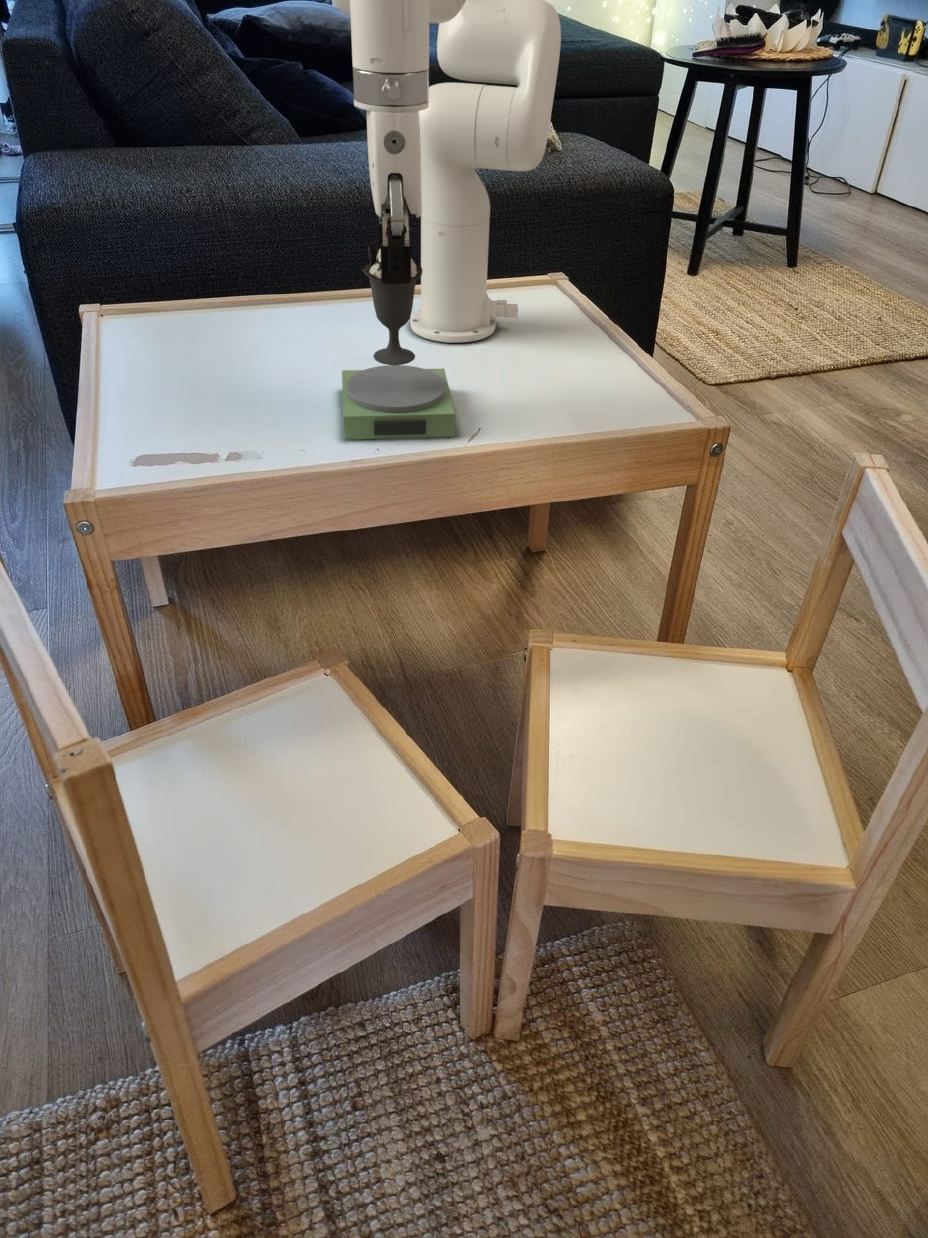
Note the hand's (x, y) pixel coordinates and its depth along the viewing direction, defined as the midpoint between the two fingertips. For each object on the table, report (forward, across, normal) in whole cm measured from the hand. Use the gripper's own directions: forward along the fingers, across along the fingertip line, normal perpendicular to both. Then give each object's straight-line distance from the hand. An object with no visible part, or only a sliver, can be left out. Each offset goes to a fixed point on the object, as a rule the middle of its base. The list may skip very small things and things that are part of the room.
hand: (394, 270), depth 103 cm
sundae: (+10, 0, 0) cm, 10 cm away
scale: (+17, 0, 0) cm, 17 cm away
